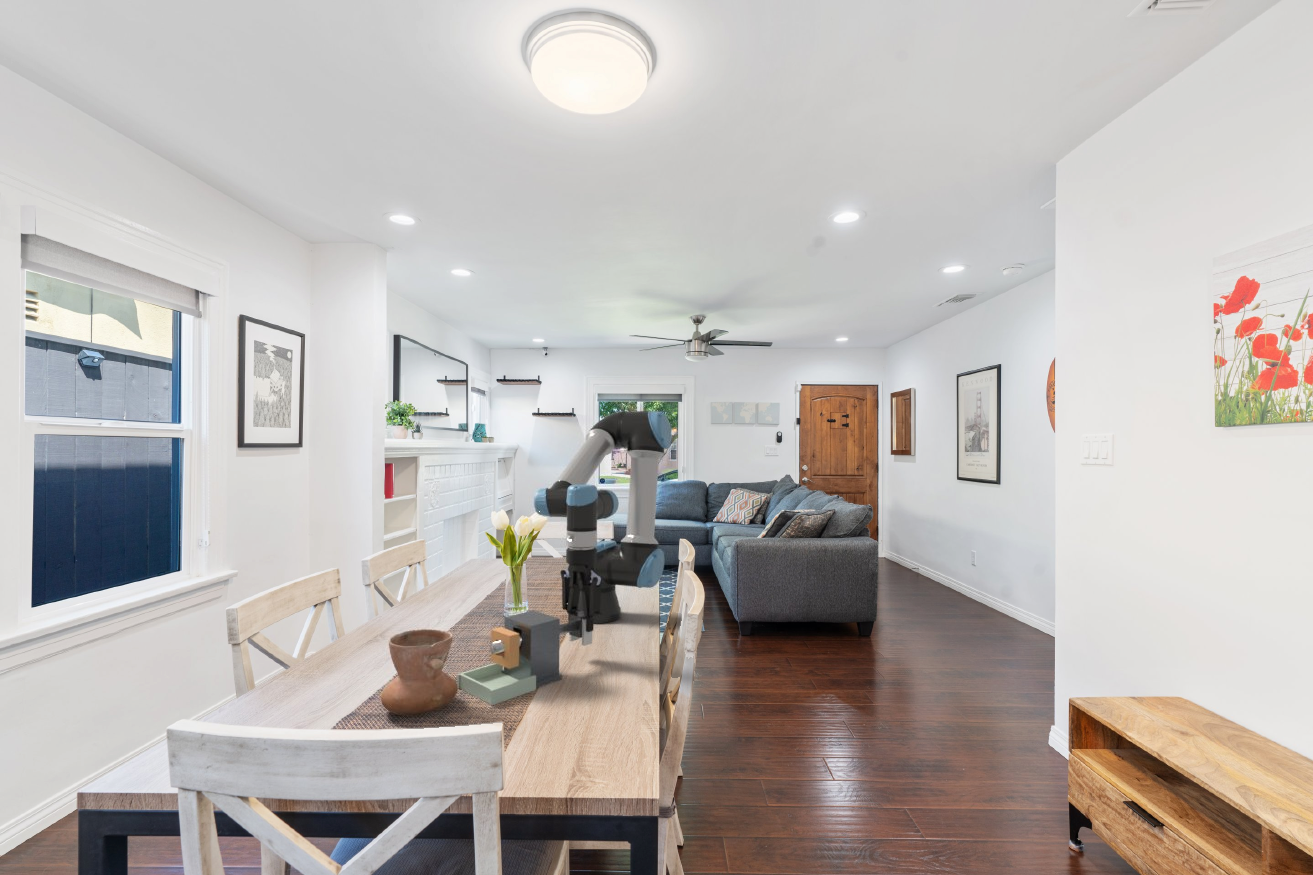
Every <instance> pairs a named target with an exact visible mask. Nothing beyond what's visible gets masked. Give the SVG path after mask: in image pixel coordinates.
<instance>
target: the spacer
mask: <svg viewBox="0 0 1313 875" xmlns="http://www.w3.org/2000/svg"><path fill="white" fill-rule="evenodd" d="M497 641H501V642H504V643H505V651H503V652H500V653H496V654H492V653H491V652H490V661H491V662H492V663H497V664H499V665H501V666H503V668H504V667H506V668H508V669H510V668H514V667H517V666H519V633H516V632H513V631H511V630H508V629H505V627H502V626H499V627H495V628H492V629H491V631H490V644H491V643H493V642H497Z"/></svg>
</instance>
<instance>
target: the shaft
mask: <svg viewBox="0 0 1313 875" xmlns="http://www.w3.org/2000/svg"><path fill="white" fill-rule="evenodd" d="M582 617H584V612H583V611H580V612H576V613H572V614H569V622H568V621H567V622H564V623H561V624H560V636H563V635H567V634H568V635H572V636H575V637H578V638H579V639H582ZM521 645H522V635H519V647H521ZM489 650H490V654H491V653H492V654H496V653H500V652H503V651H505V643H504V642H501V641H497V642H493V643H491V642H490V644H489Z"/></svg>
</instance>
